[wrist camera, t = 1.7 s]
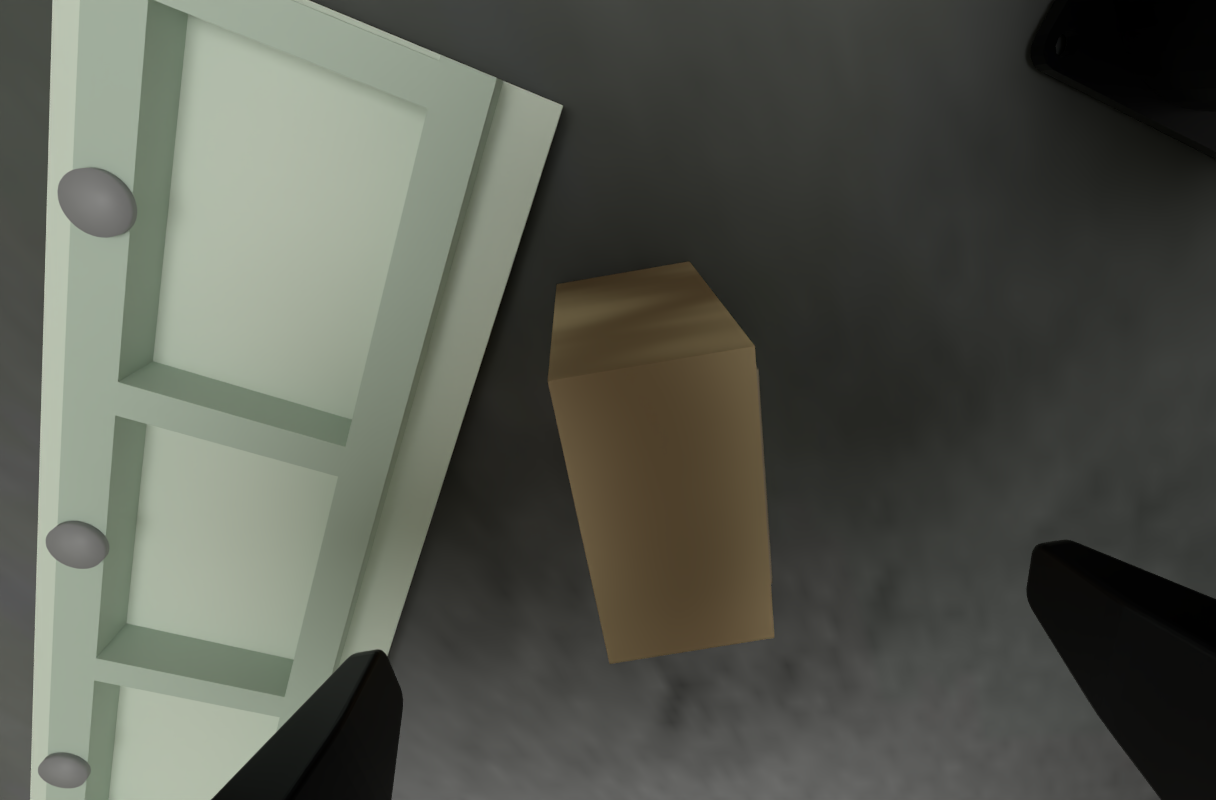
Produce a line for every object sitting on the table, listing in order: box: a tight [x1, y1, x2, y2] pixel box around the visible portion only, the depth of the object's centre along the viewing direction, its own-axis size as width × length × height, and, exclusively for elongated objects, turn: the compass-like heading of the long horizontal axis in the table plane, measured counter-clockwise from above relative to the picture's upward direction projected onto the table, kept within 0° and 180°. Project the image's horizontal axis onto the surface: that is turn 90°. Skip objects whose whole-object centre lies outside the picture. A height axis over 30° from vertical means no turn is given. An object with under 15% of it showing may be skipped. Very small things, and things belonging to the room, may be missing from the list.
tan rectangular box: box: [548, 262, 774, 664], centre depth 14 cm, size 3×6×6 cm, turn 9°
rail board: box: [30, 0, 563, 800], centre depth 16 cm, size 9×25×3 cm, turn 159°
